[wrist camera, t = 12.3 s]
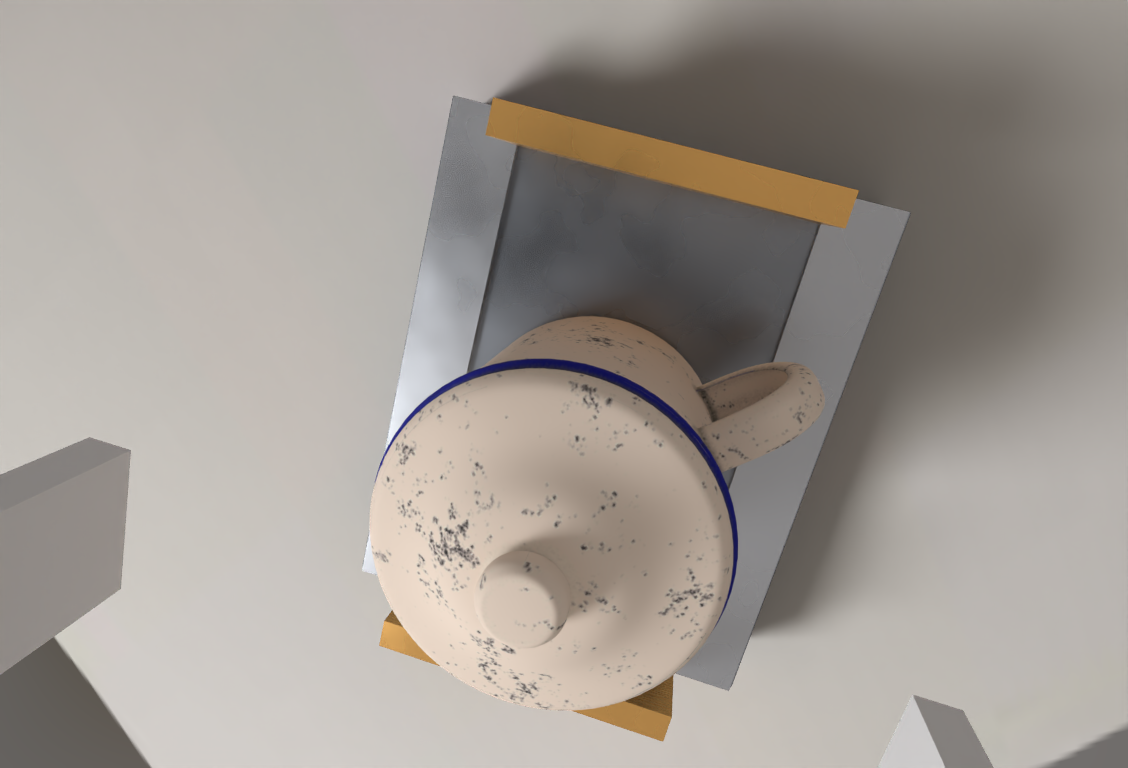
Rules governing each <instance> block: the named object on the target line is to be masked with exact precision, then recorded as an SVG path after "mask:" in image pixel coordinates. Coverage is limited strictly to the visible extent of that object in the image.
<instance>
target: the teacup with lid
mask: <svg viewBox="0 0 1128 768" xmlns="http://www.w3.org/2000/svg"><path fill="white" fill-rule="evenodd" d="M824 405H825V397H824V393H823V390H822V388H821V386H820V384H819V382H818V379H817V377H816V376H815V374H814V373H813V372H812V371H811V370H810V369H809V368H808V367H806V366H804V365H801V364H798V363H794V362H772V363H765V364H760V365H755V366H752V367H748V368H745V369H742V370H739V371H736V372H733V373H730V374H728V375H725V376H723V377H720V378H718V379H715V380H713V381H711V382H708V383H706V384H704V385H702V383H701V381H700V379H699V377H698V376H697V374H696V373H695V372H694V370H693V369H692V367H691V366H690V365H689V364H688V362H687V361H686V360H685V359H684V358H683V357H682V356H681V355H680V354H679V353H678V352H677V351H676V350H675V349H674V348H673V347H672V346H670V345H669V344H668V343H667V342H665V341H664V340H663V339H661V338H659V337H658V336H656V335H655V334H653V333H651V332H649V331H647V330H645V329H643V328H641V327H639V326H636V325H634V324H631V323H628V322H625V321H621V320H618V319H612V318H607V317H596V316H580V317H572V318H565V319H561V320H556V321H553V322H550V323H547V324H544V325H542V326H539V327H537V328H535V329H533V330H531V331H529V332H527V333H526V334H524V335H522V336H521V337H520V338H518V339H517V340H515V341H514V342H513V343H511V344H510V345H509V346H508V347H506V348H505V349H504V350H503V351H501V352H500V353H499V354H498V355H496V356H495V357H494V358H493V359H491V360H490V361H489V362H488V363H486V364H485V365H484V366H483V367H481V368H480V369H476V370H474V371H471V372H469V373H467V374H465V375H462V376H460V377H458V378H456V379H454V380H453V381H451V382H449V383H447V384H446V385H444V386H442V387H441V388H440V389H438V390H437V391H435V392H434V393H433V394H431V395H430V396H429V397H427V398H426V399H425V400H424V401H423V402H422V403H421V404H420V405H418V406H417V407H416V408H415V409H414V411H413V412H412V413H411V414H410V415H409V416H408V417H407V418H406V419H405V421H404V422H403V423H402V425H401V426H400V428H399V429H398V430H397V432H396V433H395V435H394V437H393V438H392V440H391V442H390V444H389V445H388V447H387V449H386V452H385V454H384V456H383V459H382V461H381V463H380V466H379V470H378V473H377V476H376V480H375V485H374V489H373V494H372V500H371V508H370V540H371V549H372V554H373V559H374V564H375V568H376V571H377V574H378V578H379V581H380V584H381V586H382V589H383V591H384V594H385V596H386V598H387V600H388V602H389V604H390V606H391V608H392V610H393V612H394V614H395V615H396V617H397V618H398V620H399V621H400V623H401V624H402V626H403V627H404V629H405V630H406V631H407V633H408V634H409V635H410V636H411V638H412V639H413V640H414V641H415V642H416V643H417V645H418V646H419V647H420V648H421V649H422V650H423V651H424V652H425V653H426V654H427V655H428V656H429V657H430V658H432V659H433V660H434V661H435V662H436V663H437V664H438V665H440V666H441V667H442V668H444V669H445V670H446V671H447V672H449V673H450V674H452V675H453V676H455V677H456V678H458V679H459V680H461V681H462V682H464V683H466V684H468V685H470V686H471V687H473V688H475V689H477V690H479V691H481V692H484V693H486V694H488V695H490V696H493V697H495V698H498V699H501V700H504V701H507V702H510V703H514V704H518V705H522V706H526V707H532V708H538V709H546V710H558V711H562V710H585V709H593V708H599V707H604V706H609V705H612V704H616V703H619V702H623V701H625V700H628V699H631V698H633V697H636V696H638V695H640V694H642V693H644V692H646V691H648V690H650V689H652V688H654V687H656V686H657V685H659V684H661V683H662V682H664V681H665V680H667V679H668V678H670V677H671V676H672V675H674V674H675V673H676V672H677V671H679V670H680V669H681V668H682V667H683V666H684V665H685V664H686V663H688V662H689V661H690V660H691V659H692V658H693V657H694V656H695V654H696V653H697V652H698V651H699V649H700V648H701V647H702V646H703V644H704V643H705V642H706V640H707V639H708V637H709V636H710V634H711V633H712V631H713V630H714V628H715V627H716V625H717V623H718V622H719V620H720V618H721V616H722V614H723V612H724V610H725V608H726V605H727V602H728V600H729V597H730V594H731V592H732V587H733V583H734V579H735V575H736V568H737V560H738V532H737V521H736V516H735V511H734V506H733V502H732V499H731V496H730V493H729V490H728V486H727V484H726V482H725V479H724V477H723V475H722V472H724V471H727V470H729V469H732V468H734V467H737V466H739V465H742V464H744V463H747V462H749V461H751V460H754V459H756V458H759V457H761V456H763V455H765V454H768V453H770V452H772V451H774V450H776V449H778V448H780V447H781V446H783V445H785V444H787V443H788V442H790V441H792V440H793V439H795V438H796V437H798V436H799V435H800V434H802V433H803V432H804V431H806V430H807V429H808V428H809V427H810V426H811V425H812V424H813V423H814V422H815V421H816V420H817V419H818V418H819V416H820V415H821V413H822V411H823V408H824Z"/></svg>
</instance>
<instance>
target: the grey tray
mask: <svg viewBox="0 0 1128 768" xmlns="http://www.w3.org/2000/svg"><path fill="white" fill-rule="evenodd" d="M858 192H859V190H855V189H852V188H848V187H844V186H840V185H836V184H832V183H828V182H824V181H820V180H816V179H812V178H808V177H804V176H800V175H796V174H793V173H789V172H785V171H781V170H777V169H773V168H769V167H765V166H761V165H757V164H753V163H749V162H745V161H741V160H737V159H733V158H730V157H726V156H722V155H718V154H714V153H710V152H706V151H702V150H698V149H694V148H690V147H686V146H682V145H678V144H674V143H671V142H667V141H663V140H659V139H655V138H651V137H647V136H643V135H639V134H635V133H631V132H627V131H623V130H619V129H615V128H612V127H608V126H604V125H600V124H596V123H592V122H588V121H584V120H580V119H576V118H572V117H568V116H564V115H560V114H556V113H553V112H549V111H545V110H541V109H537V108H533V107H529V106H525V105H521V104H517V103H513V102H509V101H505V100H501V99H497V98H494V97H493V100H492V105H489V104H485V103H481V102H477V101H473V100H469V99H465V98H461V97H457V96H453V99H452V104H451V109H450V114H449V120H448V125H447V130H446V135H445V140H444V146H443V151H442V156H441V161H440V166H439V172H438V177H437V182H436V187H435V192H434V198H433V203H432V208H431V213H430V218H429V224H428V229H427V234H426V239H425V244H424V249H423V255H422V260H421V265H420V270H419V275H418V281H417V286H416V291H415V296H414V301H413V307H412V312H411V317H410V322H409V327H408V333H407V338H406V343H405V348H404V353H403V359H402V364H401V369H400V374H399V379H398V385H397V390H396V395H395V400H394V405H393V410H392V416H391V421H390V426H389V431H388V436H387V442H386V447H385V452H386V449H387V447H388V445H389V444H390V442H391V440H392V438H393V437H394V435H395V433H396V432H397V430H398V429H399V428H400V426H401V425H402V423H403V422H404V421H405V419H406V418H407V417H408V416H409V415H410V414H411V413H412V412H413V411H414V409H415V408H416V407H417V406H418V405H420V404H421V403H422V402H423V401H424V400H425V399H426V398H427V397H429V396H430V395H431V394H433V393H434V392H435V391H437V390H438V389H440V388H441V387H442V386H444V385H446V384H447V383H449V382H451V381H453V380H454V379H456V378H458V377H460V376H462V375H465V374H467V373H469V372H471V371H474V370H476V369H480V368H481V367H483V366H484V365H485V364H486V363H488V362H489V361H490V360H491V359H493V358H494V357H495V356H496V355H498V354H499V353H500V352H501V351H503V350H504V349H505V348H506V347H508V346H509V345H510V344H511V343H513V342H514V341H515V340H517V339H518V338H520V337H521V336H522V335H524V334H526V333H527V332H529V331H531V330H533V329H535V328H537V327H539V326H542V325H544V324H547V323H550V322H553V321H556V320H561V319H565V318H572V317H580V316H596V317H607V318H612V319H618V320H621V321H625V322H628V323H631V324H634V325H636V326H639V327H641V328H643V329H645V330H647V331H649V332H651V333H653V334H655V335H656V336H658V337H659V338H661V339H663V340H664V341H665V342H667V343H668V344H669V345H670V346H672V347H673V348H674V349H675V350H676V351H677V352H678V353H679V354H680V355H681V356H682V357H683V358H684V359H685V360H686V361H687V362H688V364H689V365H690V366H691V367H692V369H693V370H694V372H695V373H696V374H697V376H698V377H699V379H700V381H701V383H702V385H704V384H706V383H708V382H711V381H713V380H715V379H718V378H720V377H723V376H725V375H728V374H730V373H733V372H736V371H739V370H742V369H745V368H748V367H752V366H755V365H760V364H765V363H772V362H794V363H798V364H801V365H804V366H806V367H808V368H809V369H810V370H811V371H812V372H813V373H814V374H815V376H816V377H817V379H818V382H819V384H820V386H821V388H822V390H823V393H824V397H825V405H824V408H823V411H822V413H821V415H820V416H819V418H818V419H817V420H816V421H815V422H814V423H813V424H812V425H811V426H810V427H809V428H808V429H807V430H806V431H804V432H803V433H802V434H800V435H799V436H798V437H796V438H795V439H793V440H792V441H790V442H788V443H787V444H785V445H783V446H781V447H780V448H778V449H776V450H774V451H772V452H770V453H768V454H765V455H763V456H761V457H759V458H756V459H754V460H751V461H749V462H747V463H744V464H742V465H739V466H737V467H734V468H732V469H729V470H727V471H724V472H722V475H723V477H724V479H725V482H726V484H727V486H728V490H729V493H730V496H731V499H732V502H733V506H734V511H735V516H736V521H737V532H738V560H737V568H736V575H735V579H734V583H733V587H732V592H731V594H730V597H729V600H728V602H727V605H726V608H725V610H724V612H723V614H722V616H721V618H720V620H719V622H718V623H717V625H716V627H715V628H714V630H713V631H712V633H711V634H710V636H709V637H708V639H707V640H706V642H705V643H704V644H703V646H702V647H701V648H700V649H699V651H698V652H697V653H696V654H695V656H694V657H693V658H692V659H691V660H690V661H689V662H688V663H686V664H685V665H684V666H683V667H682V668H681V669H680V670H679V671H677V672H676V674H679V675H682V676H685V677H688V678H691V679H694V680H697V681H700V682H703V683H706V684H709V685H713V686H716V687H719V688H722V689H725V690H728V691H729V689H730V687H731V686H732V684H733V681H734V678H735V676H736V673H737V671H738V668H739V665H740V663H741V660H742V657H743V655H744V652H745V649H746V647H747V644H748V642H749V639H750V636H751V634H752V631H753V628H754V626H755V623H756V620H757V618H758V615H759V612H760V610H761V607H762V605H763V602H764V599H765V597H766V594H767V591H768V589H769V586H770V583H771V581H772V578H773V576H774V573H775V570H776V568H777V565H778V562H779V560H780V557H781V554H782V552H783V549H784V547H785V544H786V541H787V539H788V536H789V533H790V531H791V528H792V525H793V523H794V520H795V517H796V515H797V512H798V510H799V507H800V504H801V502H802V499H803V496H804V494H805V491H806V488H807V486H808V483H809V481H810V478H811V475H812V473H813V470H814V467H815V465H816V462H817V459H818V457H819V454H820V452H821V449H822V446H823V444H824V441H825V438H826V436H827V433H828V430H829V428H830V425H831V422H832V420H833V417H834V415H835V412H836V409H837V407H838V404H839V401H840V399H841V396H842V393H843V391H844V388H845V386H846V383H847V380H848V378H849V375H850V372H851V370H852V367H853V364H854V362H855V359H856V357H857V354H858V351H859V349H860V346H861V343H862V341H863V338H864V335H865V333H866V330H867V327H868V325H869V322H870V320H871V317H872V314H873V312H874V309H875V306H876V304H877V301H878V298H879V296H880V293H881V291H882V288H883V285H884V283H885V280H886V277H887V275H888V272H889V269H890V267H891V264H892V262H893V259H894V256H895V254H896V251H897V248H898V246H899V243H900V240H901V238H902V235H903V232H904V230H905V227H906V225H907V222H908V219H909V217H910V214H911V213H910V212H908V211H904V210H900V209H896V208H892V207H888V206H884V205H880V204H876V203H872V202H868V201H864V200H861V199H857V195H858ZM385 452H384V454H385ZM362 567H363V568H362V571H365V572H368V573H371V574H374V575H377V576H378V574H377V571H376V568H375V564H374V559H373V554H372V549H371V540H370V530H369V535H368V540H367V545H366V551H365V556H364V561H363V566H362ZM379 646H382V647H385V648H388V649H391V650H394V651H397V652H400V653H403V654H406V655H409V656H412V657H415V658H418V659H420V660H423V661H426V662H429V663H432V664H435V665H438V664H437V663H436V662H435V661H434V660H433V659H432V658H430V657H429V656H428V655H427V654H426V653H425V652H424V651H423V650H422V649H421V648H420V647H419V646H418V645H417V643H416V642H415V641H414V640H413V639H412V638H411V636H410V635H409V634H408V633H407V631H406V630H405V629H404V627H403V626H402V624H401V623H400V621H399V620H398V618H397V617H396V615H395V614H394V612H393V610H392V611H391V613H390V614H389V615H388V617H387V618H386V620H385V621H384V625H383V630H382V635H381V640H380V645H379ZM438 666H440V665H438ZM672 695H673V675H672V676H671V677H670V678H668V679H667V680H665V681H664V682H662V683H661V684H659V685H657V686H656V687H654V688H652V689H650V690H648V691H646V692H644V693H642V694H640V695H638V696H636V697H633V698H631V699H628V700H625V701H623V702H619V703H616V704H612V705H609V706H604V707H599V708H593V709H585V710H571V711H574V712H577V713H580V714H583V715H586V716H589V717H592V718H595V719H598V720H601V721H604V722H607V723H610V724H613V725H615V726H618V727H621V728H624V729H627V730H630V731H633V732H636V733H639V734H642V735H645V736H648V737H651V738H654V739H657V740H660V741H663V740H664V737H665V735H666V732H667V729H668V726H669V723H670V720H671V718H672Z"/></svg>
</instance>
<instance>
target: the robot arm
mask: <svg viewBox="0 0 1128 768" xmlns="http://www.w3.org/2000/svg"><path fill="white" fill-rule="evenodd" d="M130 454H131V450H128V449H125V448H122V447H119V446H116V445H112V444H109V443H106V442H103V441H100V440H96V439H93V438H90V437H89V438H87V439H85V440H82V441H80V442H77V443H75V444H73V445H70V446H68V447H65V448H63V449H61V450H58V451H56V452H54V453H51V454H49V455H46V456H44V457H42V458H39V459H37V460H35V461H32V462H30V463H27V464H25V465H23V466H20V467H18V468H16V469H13V470H11V471H8V472H6V473H4V474H1V475H0V674H2V673H3V672H5V671H6V670H7V669H9V668H10V667H12V666H13V665H15V664H16V663H17V662H19V661H20V660H22V659H23V658H24V657H26V656H27V655H28V654H30V653H31V652H33V651H34V650H35V649H37V648H38V647H40V646H41V645H43V644H44V643H45V642H47V641H48V640H50V639H51V638H52V637H54V636H55V635H57V634H58V633H59V632H61V631H62V630H64V629H65V628H66V627H68V626H69V625H71V624H72V623H74V622H75V621H76V620H78V619H79V618H81V617H82V616H83V615H85V614H86V613H88V612H89V611H90V610H92V609H93V608H95V607H96V606H97V605H99V604H100V603H102V602H103V601H104V600H106V599H107V598H109V597H110V596H111V595H113V594H114V593H116V592H117V591H118V590H120V589H121V579H122V565H123V551H124V537H125V523H126V509H127V495H128V482H129V468H130ZM878 768H993V766H992V764H991V762H990V760H989V758H988V756H987V754H986V753H985V751H984V749H983V747H982V745H981V743H980V741H979V739H978V738H977V736H976V734H975V732H974V730H973V728H972V726H971V724H970V723H969V721H968V719H967V717H966V715H965V713H964V711H963V710H960V709H957V708H954V707H950V706H947V705H944V704H941V703H938V702H934V701H931V700H928V699H925V698H922V697H918V696H915V695H912V697H911V699H910V701H909V703H908V705H907V707H906V709H905V711H904V714H903V716H902V718H901V720H900V722H899V724H898V726H897V728H896V730H895V732H894V734H893V737H892V739H891V741H890V743H889V745H888V747H887V749H886V751H885V753H884V755H883V757H882V760H881V762H880V764H879V766H878Z"/></svg>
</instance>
